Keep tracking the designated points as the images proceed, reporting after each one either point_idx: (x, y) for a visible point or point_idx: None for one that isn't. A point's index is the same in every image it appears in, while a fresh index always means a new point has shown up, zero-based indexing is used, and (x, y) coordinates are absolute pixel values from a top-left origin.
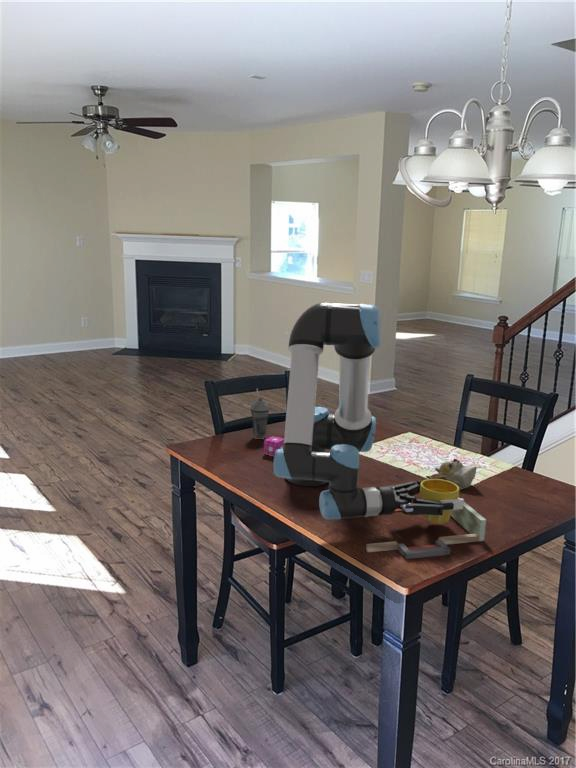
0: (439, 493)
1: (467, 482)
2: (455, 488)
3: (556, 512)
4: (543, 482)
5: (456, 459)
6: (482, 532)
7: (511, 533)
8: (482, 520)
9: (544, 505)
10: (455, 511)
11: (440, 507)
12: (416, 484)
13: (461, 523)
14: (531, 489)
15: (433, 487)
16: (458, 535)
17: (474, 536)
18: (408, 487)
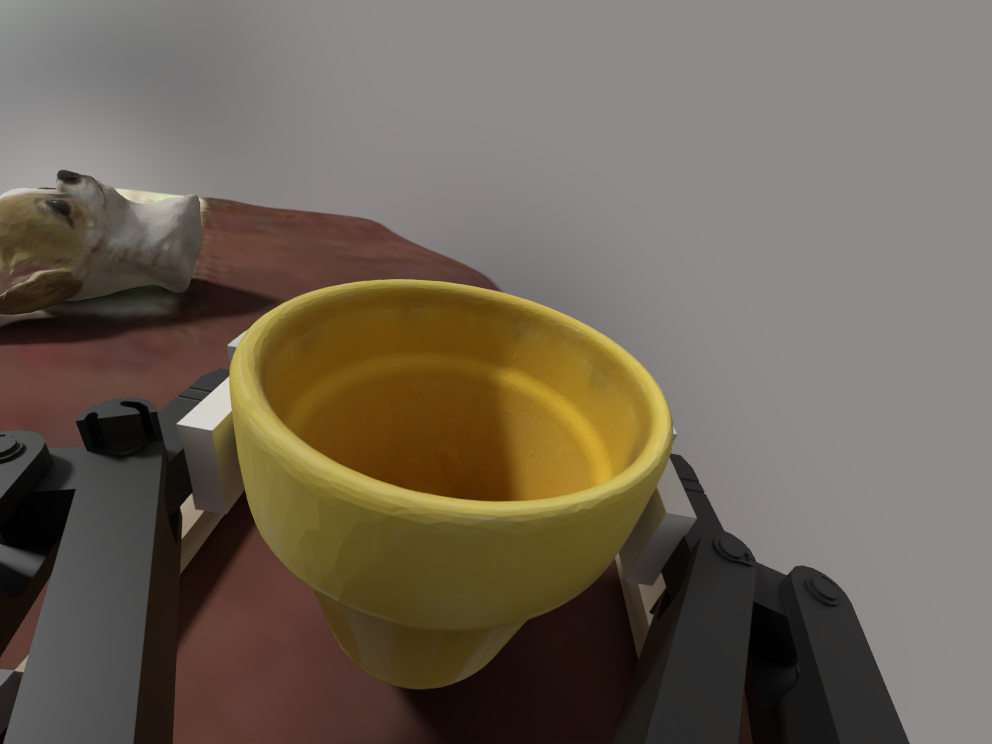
0: (668, 456)
1: (189, 269)
2: (490, 319)
3: (470, 280)
4: (323, 220)
5: (73, 172)
6: None
7: None
8: (673, 430)
9: (427, 272)
10: None
11: (851, 618)
12: (102, 473)
13: None
14: (337, 242)
15: (303, 387)
16: (641, 590)
17: None
18: (27, 673)
